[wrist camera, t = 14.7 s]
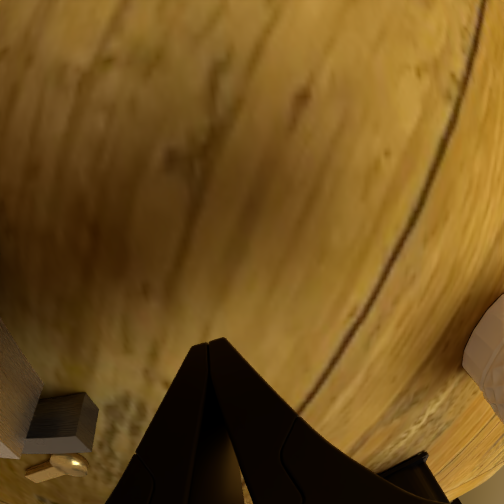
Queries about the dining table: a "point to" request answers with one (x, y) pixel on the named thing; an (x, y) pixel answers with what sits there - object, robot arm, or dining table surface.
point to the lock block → (15, 395)
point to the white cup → (488, 356)
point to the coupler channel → (62, 425)
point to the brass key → (59, 467)
